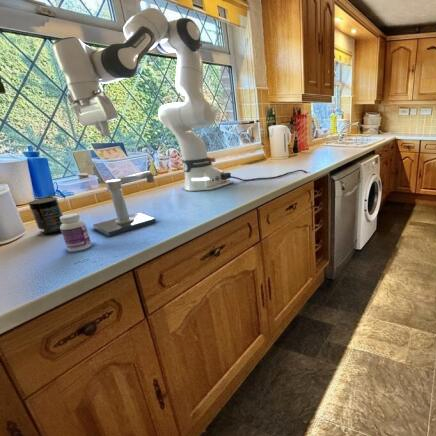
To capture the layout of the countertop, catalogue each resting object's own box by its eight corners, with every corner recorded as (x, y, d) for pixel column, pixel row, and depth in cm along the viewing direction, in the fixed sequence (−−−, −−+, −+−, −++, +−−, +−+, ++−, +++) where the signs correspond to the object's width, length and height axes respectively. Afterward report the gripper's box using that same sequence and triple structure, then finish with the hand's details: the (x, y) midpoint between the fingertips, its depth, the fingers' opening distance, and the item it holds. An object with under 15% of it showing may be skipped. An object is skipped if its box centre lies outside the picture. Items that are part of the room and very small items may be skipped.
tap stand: (139, 216, 109) (130, 183, 105) (155, 222, 102) (147, 187, 98) (94, 228, 98) (82, 192, 94) (109, 236, 92) (97, 198, 87)
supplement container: (73, 228, 100) (62, 197, 96) (51, 236, 93) (39, 204, 90) (57, 227, 101) (46, 197, 97) (35, 235, 95) (22, 203, 91)
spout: (115, 194, 94) (111, 181, 93) (105, 193, 95) (101, 181, 94) (157, 181, 109) (155, 170, 108) (148, 181, 110) (146, 170, 109)
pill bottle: (94, 247, 85) (83, 214, 81) (70, 253, 81) (58, 220, 78) (89, 242, 88) (79, 211, 85) (66, 248, 84) (54, 216, 81)
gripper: (113, 87, 96) (130, 131, 101) (85, 97, 107) (102, 137, 112) (91, 88, 91) (110, 135, 96) (64, 99, 102) (83, 140, 107)
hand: (106, 136), depth 104 cm, fingers closed
